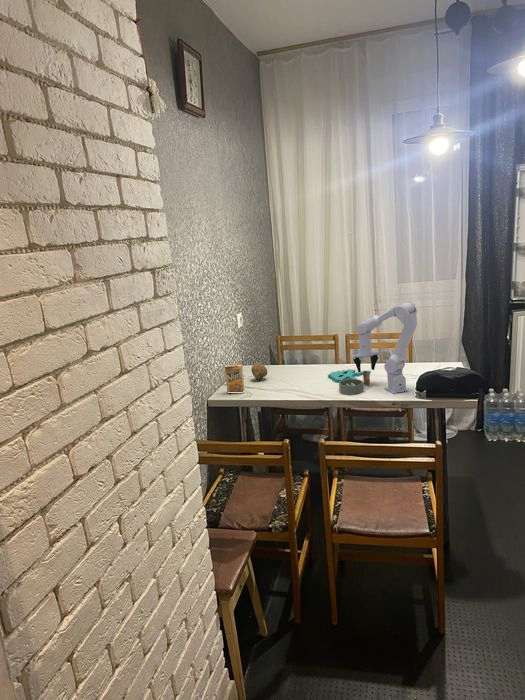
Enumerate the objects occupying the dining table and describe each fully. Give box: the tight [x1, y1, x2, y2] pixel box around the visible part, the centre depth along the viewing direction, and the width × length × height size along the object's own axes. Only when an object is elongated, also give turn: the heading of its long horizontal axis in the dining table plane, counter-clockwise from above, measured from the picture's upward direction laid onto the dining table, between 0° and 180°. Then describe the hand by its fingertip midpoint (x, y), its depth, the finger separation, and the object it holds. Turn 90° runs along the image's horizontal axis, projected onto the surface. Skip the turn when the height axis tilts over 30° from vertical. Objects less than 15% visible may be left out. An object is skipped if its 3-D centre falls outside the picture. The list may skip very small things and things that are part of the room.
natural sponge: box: [251, 362, 268, 380], centre depth 284 cm, size 9×9×10 cm
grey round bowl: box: [338, 378, 365, 396], centre depth 251 cm, size 12×12×4 cm
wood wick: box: [362, 370, 371, 387], centre depth 258 cm, size 4×2×7 cm, turn 13°
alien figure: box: [327, 368, 372, 384], centre depth 275 cm, size 20×2×20 cm
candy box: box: [224, 363, 245, 393], centre depth 264 cm, size 9×4×15 cm, turn 81°
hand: (366, 370), depth 258 cm, fingers open, 7 cm apart
